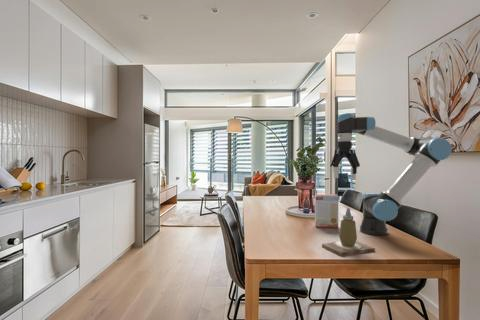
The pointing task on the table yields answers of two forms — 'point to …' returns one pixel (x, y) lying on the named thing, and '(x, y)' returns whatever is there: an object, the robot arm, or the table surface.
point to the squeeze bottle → (348, 230)
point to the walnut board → (348, 248)
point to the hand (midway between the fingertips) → (344, 179)
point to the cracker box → (326, 210)
